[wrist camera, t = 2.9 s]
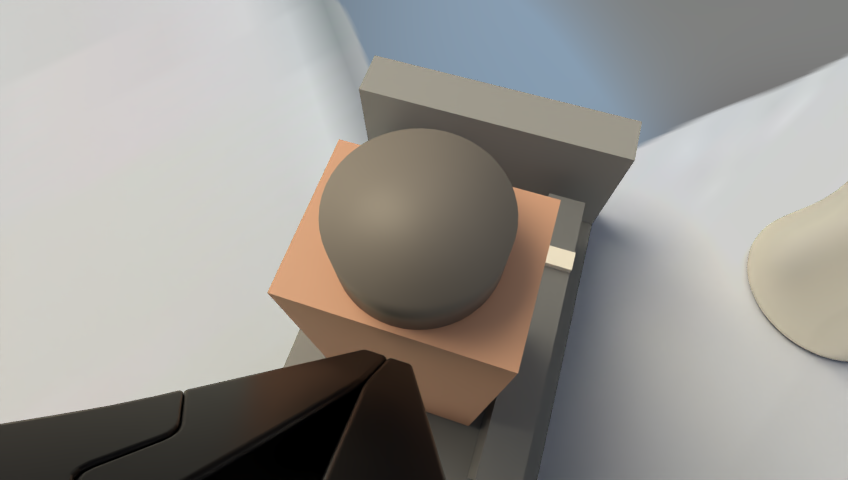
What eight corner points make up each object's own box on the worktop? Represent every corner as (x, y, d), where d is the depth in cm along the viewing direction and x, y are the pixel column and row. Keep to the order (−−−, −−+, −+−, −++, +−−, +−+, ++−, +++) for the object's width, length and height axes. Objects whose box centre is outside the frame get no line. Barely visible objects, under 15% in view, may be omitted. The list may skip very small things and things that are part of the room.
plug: (468, 426, 17) (533, 356, 6) (353, 386, 17) (241, 264, 7) (492, 338, 18) (579, 160, 8) (383, 304, 18) (327, 94, 8)
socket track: (520, 514, 17) (564, 535, 12) (274, 425, 18) (208, 407, 13) (588, 209, 22) (641, 121, 16) (387, 153, 23) (374, 55, 18)
